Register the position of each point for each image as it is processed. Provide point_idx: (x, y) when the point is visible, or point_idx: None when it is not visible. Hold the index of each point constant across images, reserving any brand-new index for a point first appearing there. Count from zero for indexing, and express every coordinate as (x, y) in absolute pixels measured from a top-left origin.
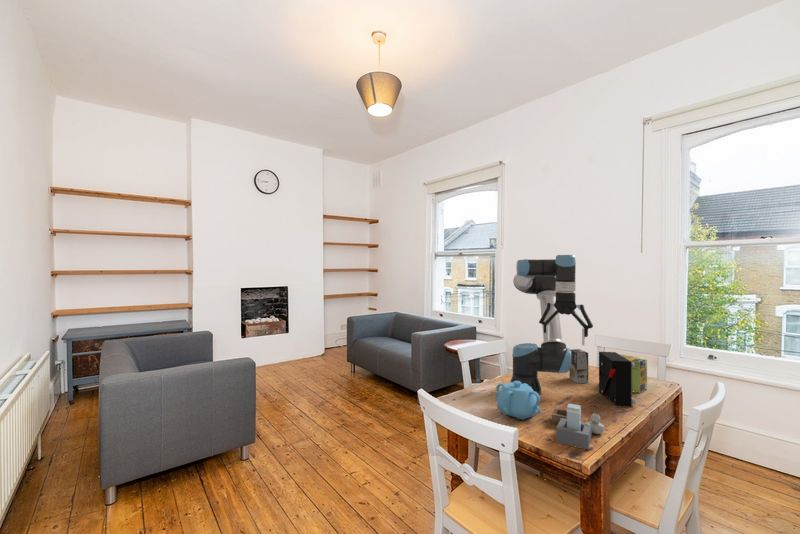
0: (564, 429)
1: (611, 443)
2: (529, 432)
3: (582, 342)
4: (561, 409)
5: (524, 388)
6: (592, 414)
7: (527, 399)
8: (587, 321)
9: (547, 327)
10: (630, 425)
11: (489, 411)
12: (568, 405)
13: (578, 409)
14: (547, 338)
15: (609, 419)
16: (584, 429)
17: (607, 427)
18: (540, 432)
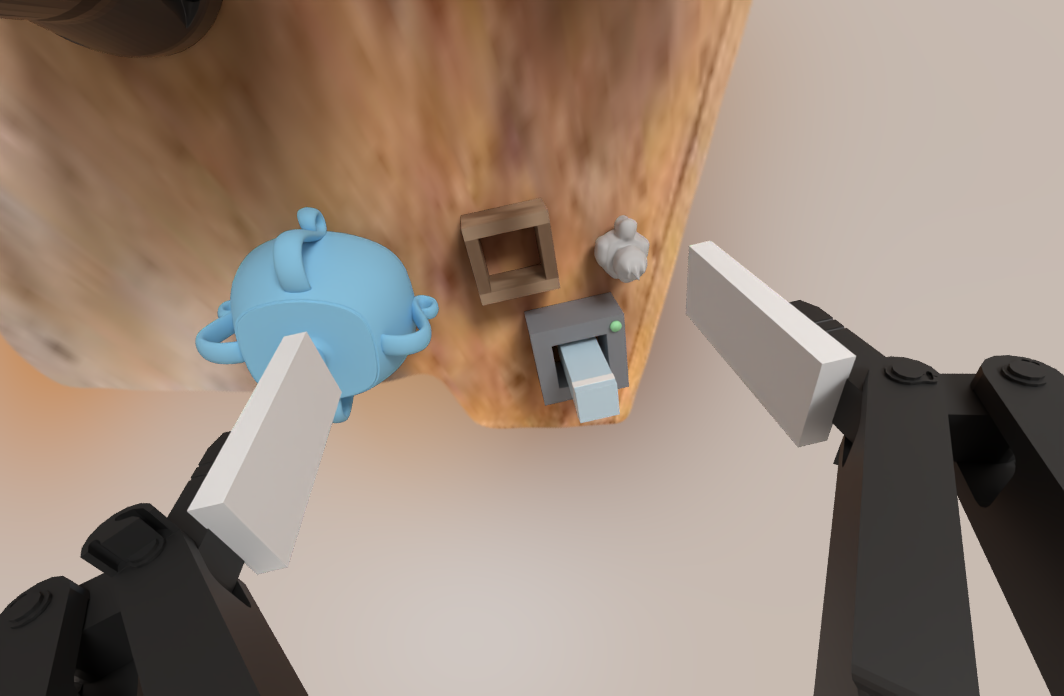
0: (566, 399)
1: (664, 283)
2: (458, 381)
3: (705, 331)
4: (489, 231)
5: (352, 354)
6: (625, 273)
7: (397, 364)
8: (1011, 552)
9: (283, 545)
10: (723, 63)
11: None
12: (581, 408)
13: (616, 414)
14: (327, 416)
15: (644, 55)
16: (613, 362)
17: (644, 163)
18: (481, 360)
